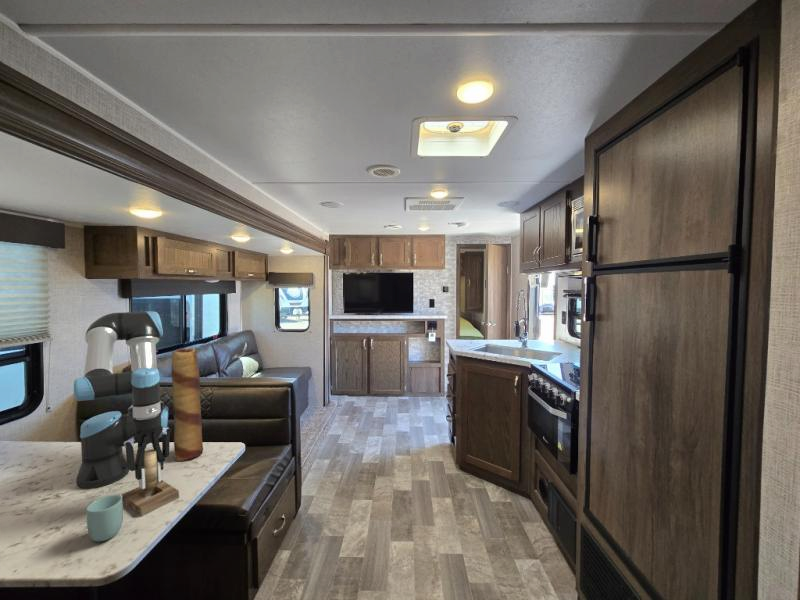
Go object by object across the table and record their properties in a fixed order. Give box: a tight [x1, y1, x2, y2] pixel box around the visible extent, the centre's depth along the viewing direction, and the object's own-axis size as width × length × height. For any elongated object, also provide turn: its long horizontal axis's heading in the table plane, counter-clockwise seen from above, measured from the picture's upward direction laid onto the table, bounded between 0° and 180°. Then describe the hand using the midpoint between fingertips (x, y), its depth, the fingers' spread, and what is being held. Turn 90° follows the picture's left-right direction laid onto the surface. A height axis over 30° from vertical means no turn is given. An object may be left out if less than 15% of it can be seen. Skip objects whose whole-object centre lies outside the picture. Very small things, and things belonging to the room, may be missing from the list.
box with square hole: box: [121, 479, 180, 517], centre depth 117 cm, size 14×11×2 cm
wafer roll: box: [171, 347, 204, 462], centre depth 145 cm, size 10×11×45 cm
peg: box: [142, 449, 158, 491], centre depth 116 cm, size 4×4×12 cm
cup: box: [85, 494, 124, 543], centre depth 100 cm, size 8×8×10 cm
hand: (150, 483), depth 117 cm, fingers closed on peg, 4 cm apart
